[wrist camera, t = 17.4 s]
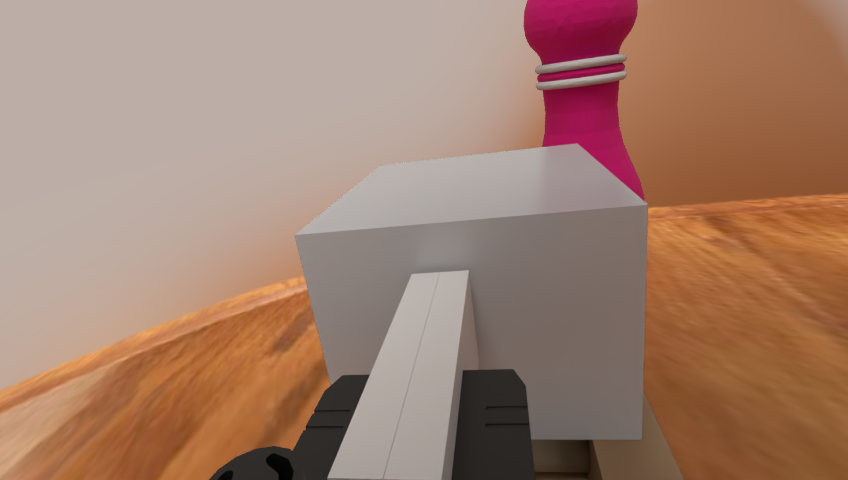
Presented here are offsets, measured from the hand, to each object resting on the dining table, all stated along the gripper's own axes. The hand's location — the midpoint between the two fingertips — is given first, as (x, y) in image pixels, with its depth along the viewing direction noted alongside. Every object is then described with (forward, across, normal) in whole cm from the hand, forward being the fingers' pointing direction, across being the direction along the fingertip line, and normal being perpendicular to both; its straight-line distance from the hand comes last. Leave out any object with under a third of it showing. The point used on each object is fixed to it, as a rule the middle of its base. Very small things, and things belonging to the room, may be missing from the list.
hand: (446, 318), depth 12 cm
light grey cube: (+5, +1, -4) cm, 7 cm away
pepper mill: (+18, +7, -8) cm, 21 cm away
